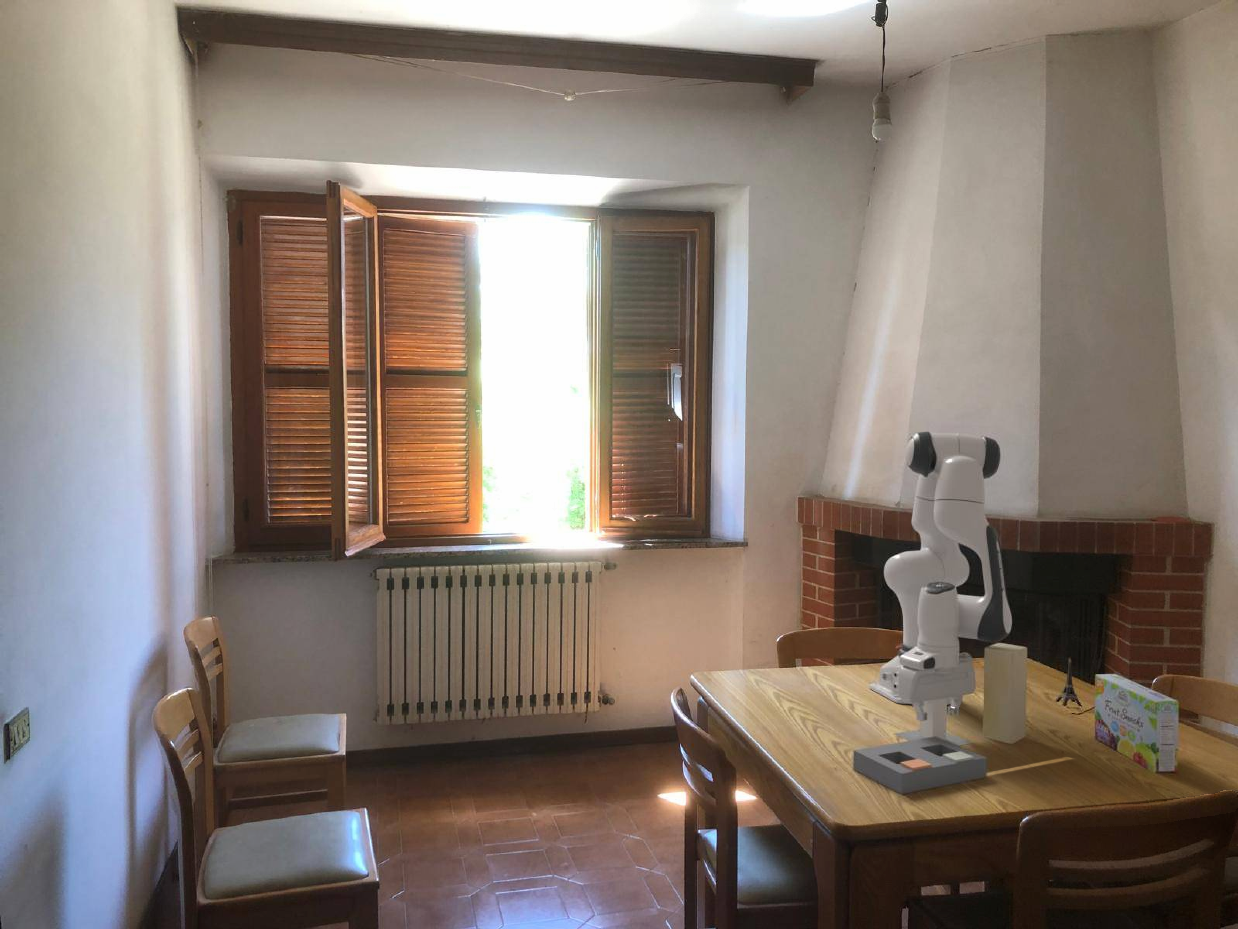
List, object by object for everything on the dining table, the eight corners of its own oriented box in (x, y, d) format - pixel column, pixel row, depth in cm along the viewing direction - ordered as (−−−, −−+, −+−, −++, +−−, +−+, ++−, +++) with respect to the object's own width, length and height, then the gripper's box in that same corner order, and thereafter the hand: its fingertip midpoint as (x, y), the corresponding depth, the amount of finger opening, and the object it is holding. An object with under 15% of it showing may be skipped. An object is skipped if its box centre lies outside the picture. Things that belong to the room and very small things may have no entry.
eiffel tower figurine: (1078, 717, 225) (1080, 664, 225) (1037, 708, 233) (1038, 656, 232) (1102, 706, 235) (1104, 654, 235) (1062, 697, 243) (1063, 647, 242)
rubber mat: (893, 736, 208) (893, 733, 208) (933, 729, 213) (933, 727, 213) (931, 753, 197) (931, 750, 197) (973, 746, 202) (973, 743, 202)
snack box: (1091, 739, 208) (1093, 673, 207) (1115, 738, 208) (1117, 673, 208) (1153, 773, 187) (1156, 700, 186) (1179, 773, 187) (1182, 700, 187)
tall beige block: (993, 731, 213) (996, 641, 212) (1025, 738, 207) (1028, 647, 207) (978, 738, 207) (981, 646, 206) (1011, 747, 202) (1013, 652, 201)
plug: (919, 736, 206) (920, 693, 206) (932, 734, 208) (933, 691, 207) (932, 742, 202) (933, 697, 202) (946, 740, 204) (947, 695, 204)
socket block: (853, 769, 187) (853, 747, 187) (935, 754, 196) (935, 734, 196) (901, 794, 174) (901, 771, 174) (986, 777, 183) (986, 755, 183)
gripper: (961, 648, 211) (960, 708, 212) (893, 657, 202) (893, 719, 202) (982, 654, 206) (982, 715, 206) (914, 663, 197) (914, 727, 197)
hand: (937, 717), depth 204 cm, fingers open, 8 cm apart
